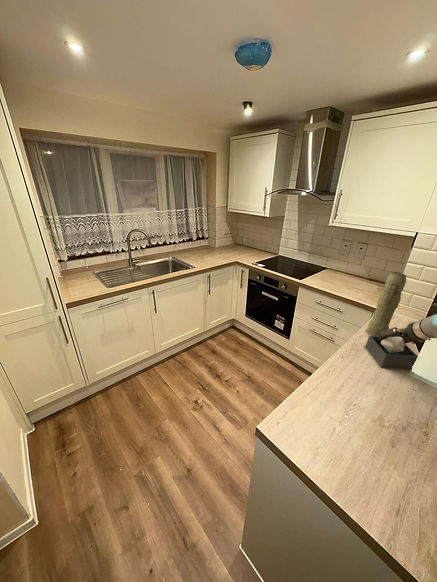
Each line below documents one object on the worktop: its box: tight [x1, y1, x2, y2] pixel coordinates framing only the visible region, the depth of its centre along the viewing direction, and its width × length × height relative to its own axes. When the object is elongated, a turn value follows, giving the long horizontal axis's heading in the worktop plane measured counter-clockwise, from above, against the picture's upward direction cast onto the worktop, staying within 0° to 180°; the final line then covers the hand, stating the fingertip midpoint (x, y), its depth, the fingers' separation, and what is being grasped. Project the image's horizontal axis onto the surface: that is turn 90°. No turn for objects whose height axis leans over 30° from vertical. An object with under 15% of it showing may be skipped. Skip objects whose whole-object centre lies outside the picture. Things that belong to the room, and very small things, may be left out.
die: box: [381, 337, 405, 353], centre depth 107 cm, size 8×9×10 cm
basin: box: [364, 335, 419, 370], centre depth 109 cm, size 14×14×7 cm
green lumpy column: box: [366, 271, 407, 336], centre depth 121 cm, size 9×12×35 cm
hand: (390, 339), depth 110 cm, fingers closed on die, 9 cm apart
